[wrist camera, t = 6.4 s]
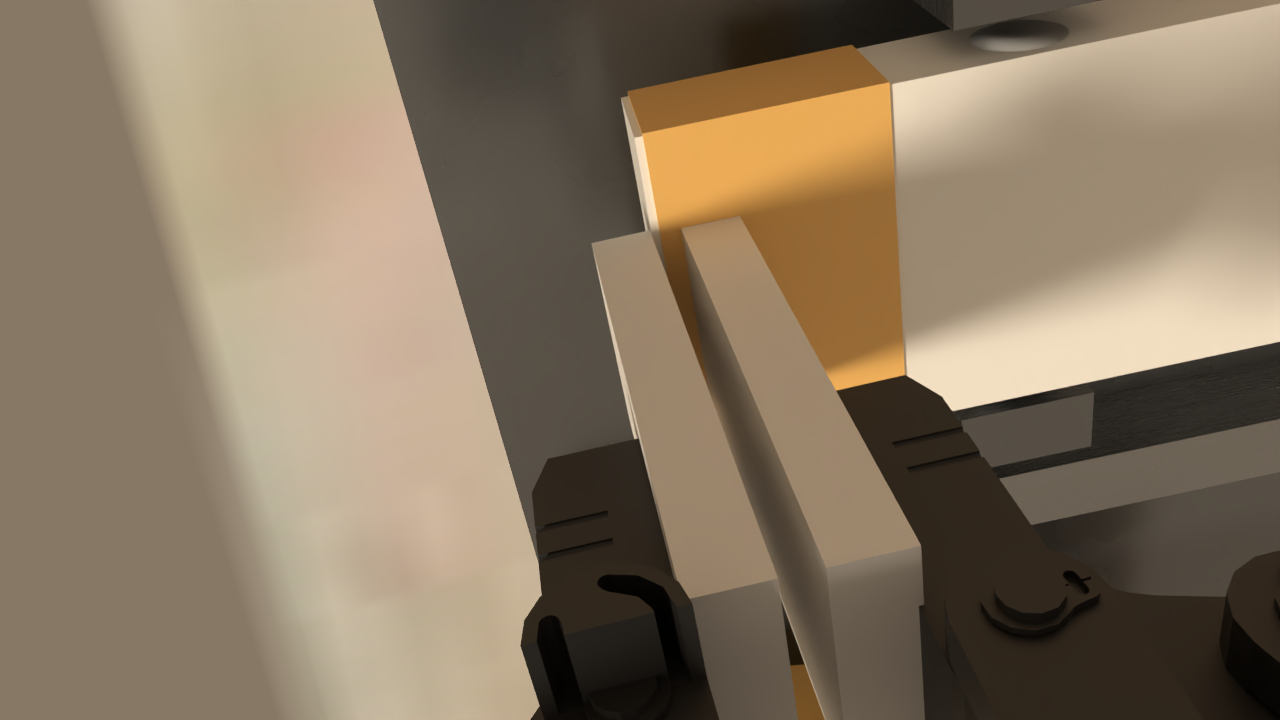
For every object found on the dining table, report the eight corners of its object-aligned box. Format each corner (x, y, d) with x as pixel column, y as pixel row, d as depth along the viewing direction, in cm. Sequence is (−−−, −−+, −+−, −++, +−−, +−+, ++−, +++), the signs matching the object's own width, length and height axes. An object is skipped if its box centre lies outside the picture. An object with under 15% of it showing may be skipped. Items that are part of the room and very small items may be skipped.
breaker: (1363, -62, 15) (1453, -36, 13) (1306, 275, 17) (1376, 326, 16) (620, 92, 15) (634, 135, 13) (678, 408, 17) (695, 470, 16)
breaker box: (1400, -480, 16) (1814, -549, 11) (1216, 706, 30) (1365, 914, 25) (328, -263, 16) (258, -234, 11) (634, 831, 30) (666, 1067, 25)
